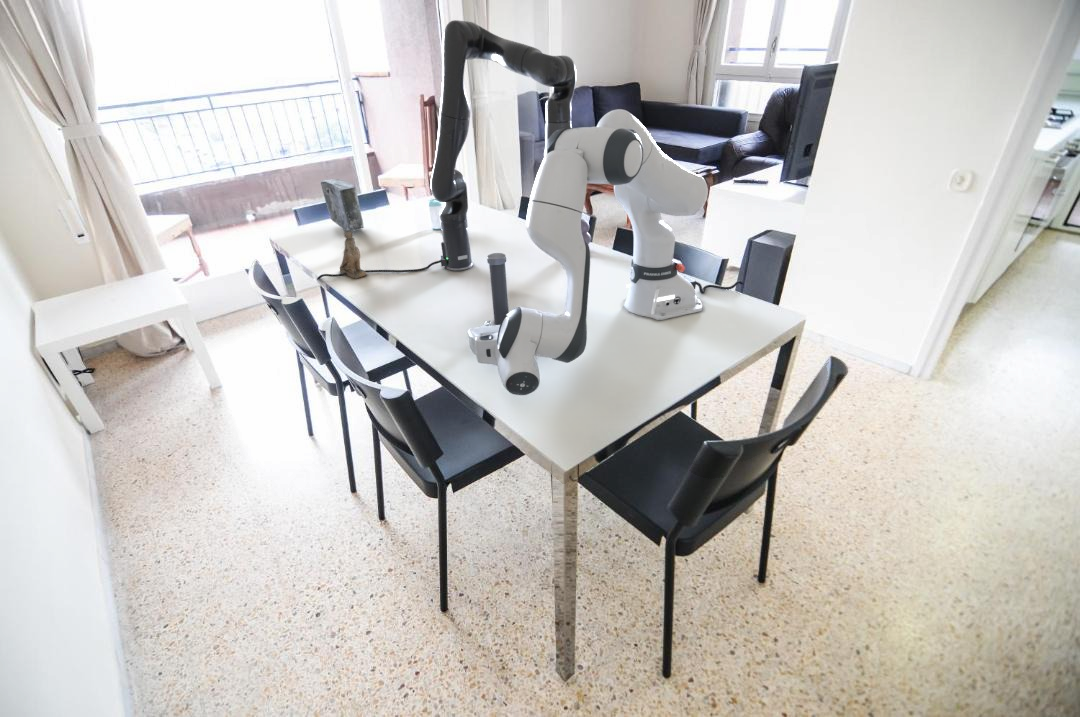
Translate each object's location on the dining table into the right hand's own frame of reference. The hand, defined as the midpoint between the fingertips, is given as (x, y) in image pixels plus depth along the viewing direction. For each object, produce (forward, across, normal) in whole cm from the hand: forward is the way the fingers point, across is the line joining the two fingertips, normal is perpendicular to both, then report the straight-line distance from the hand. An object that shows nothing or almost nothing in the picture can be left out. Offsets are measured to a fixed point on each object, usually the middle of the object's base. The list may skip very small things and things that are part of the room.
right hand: (506, 321), depth 128 cm
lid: (+12, 0, -13) cm, 18 cm away
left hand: (+33, -21, -22) cm, 45 cm away
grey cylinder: (+12, 0, +7) cm, 14 cm away
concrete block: (+121, +58, +7) cm, 134 cm away
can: (+111, +18, +7) cm, 113 cm away
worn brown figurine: (+63, +49, +7) cm, 80 cm away
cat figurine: (+65, -36, +7) cm, 74 cm away
